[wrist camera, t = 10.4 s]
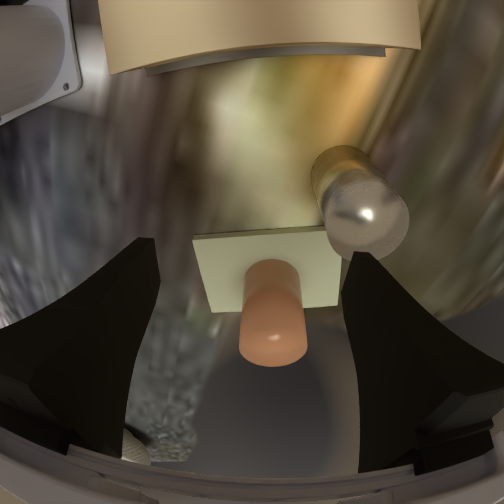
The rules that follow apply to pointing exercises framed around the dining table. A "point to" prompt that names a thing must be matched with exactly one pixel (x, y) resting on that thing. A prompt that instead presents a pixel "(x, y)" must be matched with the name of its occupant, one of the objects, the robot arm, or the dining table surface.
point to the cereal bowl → (134, 449)
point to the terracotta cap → (272, 314)
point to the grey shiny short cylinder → (357, 204)
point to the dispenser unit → (249, 30)
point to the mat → (262, 248)
